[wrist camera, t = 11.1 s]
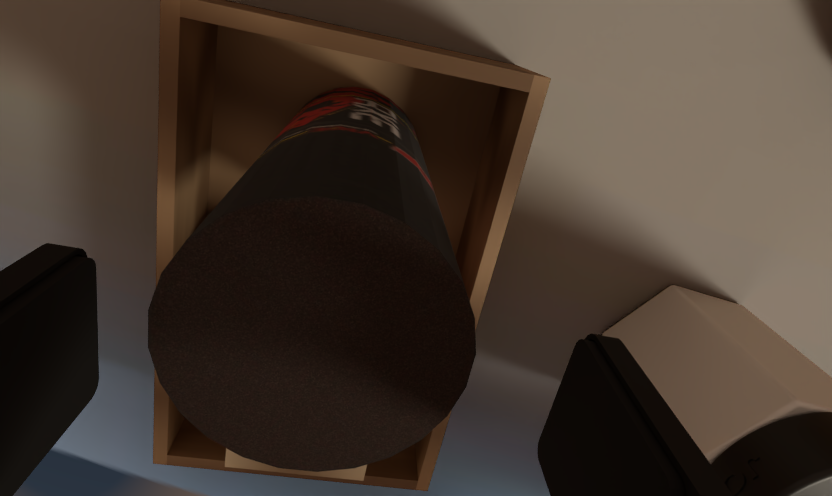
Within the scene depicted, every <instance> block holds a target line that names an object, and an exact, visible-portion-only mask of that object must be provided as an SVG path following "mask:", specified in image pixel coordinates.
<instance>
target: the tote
mask: <svg viewBox="0 0 832 496" xmlns="http://www.w3.org/2000/svg"><path fill="white" fill-rule="evenodd" d="M550 80H551V78H548V77H546V76H543V75H540V74H538V73H535V72H533V71H530V70H527V69H525V68H522V67H520V66H517V65H513V64H508V63H504V62H499V61H495V60H491V59H486V58H482V57H477V56H473V55H468V54H464V53H459V52H455V51H450V50H446V49H441V48H437V47H432V46H428V45H424V44H419V43H415V42H410V41H406V40H401V39H397V38H392V37H388V36H383V35H379V34H374V33H370V32H365V31H361V30H356V29H352V28H348V27H343V26H339V25H334V24H330V23H325V22H321V21H316V20H312V19H307V18H303V17H298V16H294V15H289V14H285V13H280V12H276V11H272V10H267V9H263V8H258V7H254V6H249V5H245V4H240V3H236V2H231V1H227V0H160V53H159V118H158V183H157V248H156V287H157V284H158V281H159V278H160V275H161V273H162V271H163V270H164V269H165V267H166V266H167V265H168V264H169V262H170V261H171V260H172V258H173V257H174V256H175V254H176V253H177V252H178V250H179V249H180V248H181V247H182V245H183V244H184V243H185V241H186V240H187V239H188V238H189V237H190V235H191V234H192V233H193V232H194V231H195V230H196V229H197V227H198V226H199V225H200V224H201V223H202V222H203V221H204V219H205V218H206V217H207V216H208V215H209V214H210V213H211V211H212V210H213V209H214V208H215V207H216V206H217V205H218V203H219V202H220V201H221V200H222V199H223V198H224V197H225V195H226V194H227V193H228V192H229V191H230V190H231V188H232V187H233V186H234V185H235V184H236V183H237V182H238V180H239V179H240V178H241V177H242V176H243V175H244V174H245V172H246V171H247V170H248V169H249V168H250V167H251V166H252V164H253V163H254V162H255V161H256V160H257V159H258V158H259V156H260V155H261V154H262V153H263V152H264V151H265V150H266V148H267V147H268V146H269V145H270V144H271V143H272V142H273V140H274V139H275V138H276V137H277V136H278V135H279V134H280V132H281V131H282V130H283V129H284V128H285V127H286V126H287V124H288V123H289V122H290V121H291V120H292V119H293V117H294V116H295V115H296V114H297V113H298V112H299V111H300V109H301V108H302V107H303V106H304V105H305V104H306V103H308V102H309V101H310V100H312V99H313V98H314V97H316V96H317V95H319V94H321V93H323V92H326V91H329V90H332V89H334V88H340V87H354V86H355V87H360V88H365V89H370V90H374V91H376V92H378V93H380V94H382V95H384V96H386V97H388V98H390V99H391V100H392V101H393V102H394V103H395V104H396V105H397V106H399V107H400V108H401V109H402V110H403V111H404V113H405V114H406V116H407V117H408V119H409V120H410V122H411V123H412V125H413V127H414V130H415V133H416V136H417V139H418V142H419V145H420V148H421V151H422V154H423V157H424V161H425V164H426V167H427V170H428V173H429V176H430V179H431V182H432V186H433V189H434V192H435V195H436V198H437V201H438V204H439V207H440V211H441V214H442V217H443V220H444V223H445V226H446V229H447V232H448V236H449V239H450V242H451V245H452V248H453V251H454V254H455V257H456V261H457V264H458V267H459V270H460V273H461V276H462V279H463V282H464V286H465V289H466V292H467V295H468V298H469V301H470V304H471V307H472V311H473V314H474V317H475V330H476V327H477V324H478V320H479V317H480V314H481V310H482V307H483V304H484V300H485V297H486V294H487V290H488V287H489V284H490V280H491V277H492V274H493V270H494V267H495V264H496V260H497V257H498V254H499V250H500V247H501V244H502V240H503V237H504V234H505V230H506V227H507V224H508V220H509V217H510V214H511V210H512V207H513V204H514V200H515V197H516V194H517V190H518V187H519V184H520V180H521V177H522V173H523V170H524V167H525V163H526V160H527V157H528V153H529V150H530V147H531V143H532V140H533V137H534V133H535V130H536V127H537V123H538V120H539V117H540V113H541V110H542V107H543V103H544V100H545V97H546V93H547V90H548V87H549V83H550ZM451 411H452V410H451ZM451 411H450V413H449V414H448V416H447V417H446V418H445V419H444V420H443V421H442V422H440V423H439V424H438V425H437V426H436V427H435V428H434V429H433V430H432V431H431V432H429V433H428V434H427V435H426V436H425V437H424V438H423V439H422V440H420V441H419V442H417V443H415V444H413V445H411V446H410V447H408V448H406V449H404V450H403V451H401V452H399V453H397V454H395V455H394V456H392V457H390V458H387V459H383V460H380V461H377V462H374V463H370V464H367V468H366V472H365V476H364V481H359V480H350V479H340V478H330V477H320V476H310V475H300V474H291V473H281V472H271V471H261V470H251V469H241V468H232V467H225V457H226V448H225V447H223V446H221V445H219V444H217V443H216V442H214V441H212V440H210V439H208V438H207V437H206V436H205V435H204V434H203V433H202V432H201V431H199V430H198V429H197V428H196V427H195V426H194V425H193V424H192V423H191V422H189V421H188V420H187V419H186V418H185V417H184V416H183V415H182V414H181V413H180V412H179V411H178V409H177V408H176V406H175V405H174V403H173V402H172V400H171V399H170V397H169V396H168V394H167V393H166V391H165V390H164V388H163V387H162V385H161V384H160V382H159V379H158V376H157V373H156V370H155V378H154V443H153V463H154V464H164V465H174V466H184V467H194V468H204V469H214V470H224V471H234V472H244V473H254V474H264V475H273V476H283V477H293V478H303V479H313V480H323V481H333V482H343V483H353V484H363V485H373V486H383V487H393V488H402V489H412V490H422V491H428V487H429V484H430V481H431V477H432V474H433V471H434V467H435V464H436V461H437V457H438V454H439V451H440V447H441V444H442V441H443V437H444V434H445V431H446V427H447V424H448V421H449V417H450V414H451Z"/></svg>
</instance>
